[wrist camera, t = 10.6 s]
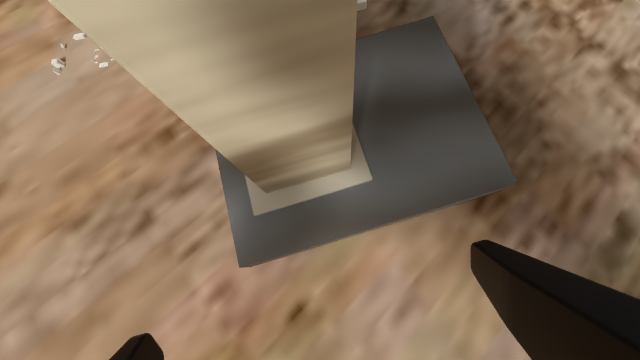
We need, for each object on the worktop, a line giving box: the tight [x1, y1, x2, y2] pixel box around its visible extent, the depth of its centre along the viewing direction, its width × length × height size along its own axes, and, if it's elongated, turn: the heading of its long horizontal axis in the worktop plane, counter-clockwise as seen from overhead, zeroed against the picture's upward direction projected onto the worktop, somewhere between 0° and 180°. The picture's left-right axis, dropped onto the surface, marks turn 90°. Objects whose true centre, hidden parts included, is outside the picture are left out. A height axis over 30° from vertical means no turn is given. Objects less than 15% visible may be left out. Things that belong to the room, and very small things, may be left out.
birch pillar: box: [48, 0, 357, 193], centre depth 11 cm, size 5×5×13 cm
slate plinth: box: [215, 16, 518, 267], centre depth 19 cm, size 12×16×2 cm
